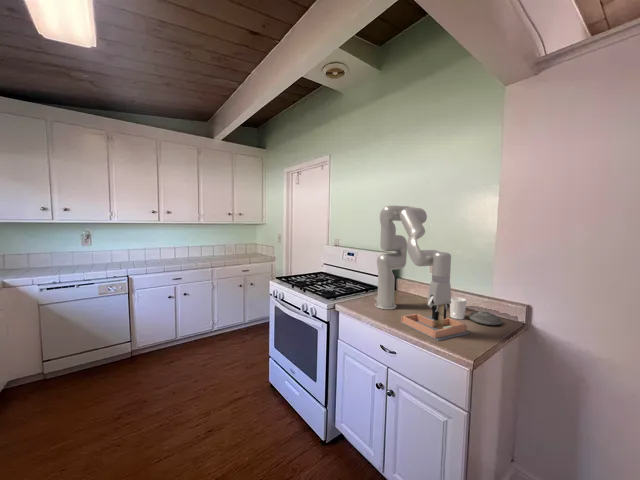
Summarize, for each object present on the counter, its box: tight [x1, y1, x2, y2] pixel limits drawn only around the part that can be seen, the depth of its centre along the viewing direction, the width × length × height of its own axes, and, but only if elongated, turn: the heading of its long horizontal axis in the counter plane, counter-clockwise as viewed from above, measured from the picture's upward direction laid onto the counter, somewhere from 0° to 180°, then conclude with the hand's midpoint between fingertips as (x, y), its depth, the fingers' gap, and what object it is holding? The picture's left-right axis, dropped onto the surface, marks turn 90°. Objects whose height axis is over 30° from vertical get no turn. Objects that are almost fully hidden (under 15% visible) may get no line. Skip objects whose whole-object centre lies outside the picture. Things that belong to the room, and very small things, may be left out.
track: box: [400, 313, 470, 342], centre depth 134 cm, size 23×20×4 cm
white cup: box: [449, 296, 467, 320], centre depth 149 cm, size 8×8×10 cm
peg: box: [434, 304, 444, 329], centre depth 128 cm, size 4×4×12 cm
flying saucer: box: [468, 310, 503, 326], centre depth 144 cm, size 15×15×6 cm
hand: (438, 318), depth 128 cm, fingers closed on peg, 4 cm apart
